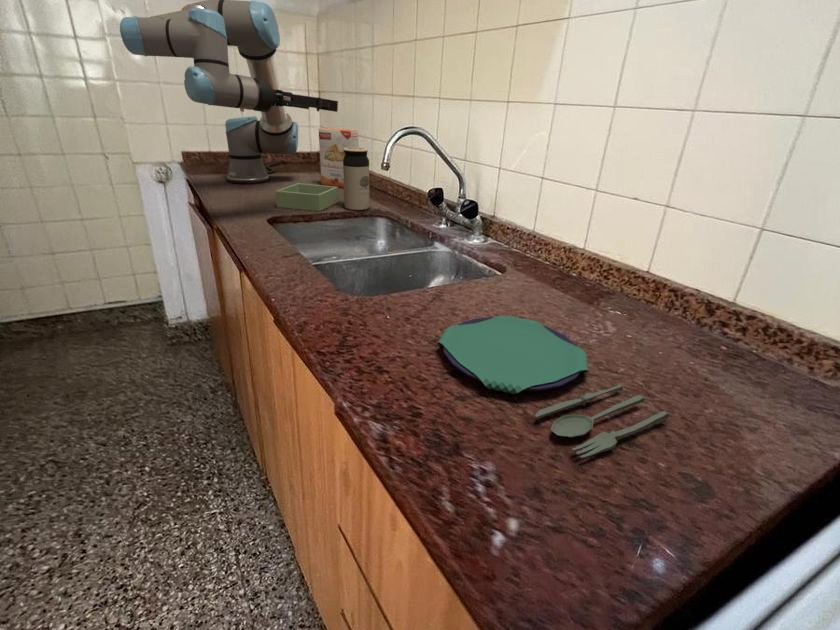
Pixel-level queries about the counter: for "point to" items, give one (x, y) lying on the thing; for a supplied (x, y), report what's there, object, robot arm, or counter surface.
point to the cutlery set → (534, 371)
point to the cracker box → (334, 153)
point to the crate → (307, 197)
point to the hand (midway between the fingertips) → (322, 105)
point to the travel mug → (356, 178)
